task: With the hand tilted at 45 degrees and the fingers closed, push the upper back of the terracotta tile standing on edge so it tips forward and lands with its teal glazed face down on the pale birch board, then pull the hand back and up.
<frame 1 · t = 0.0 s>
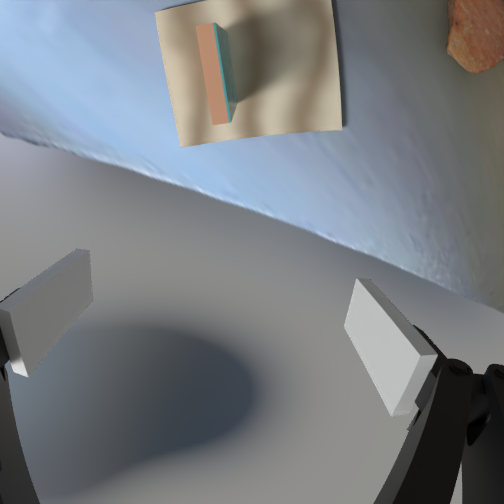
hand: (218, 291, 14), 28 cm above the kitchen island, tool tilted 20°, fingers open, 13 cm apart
board: (251, 64, 32), on the kitchen island
ceramic shard: (463, 19, 25), on the kitchen island
tile: (220, 70, 27), point 6 cm above the kitchen island, touching board
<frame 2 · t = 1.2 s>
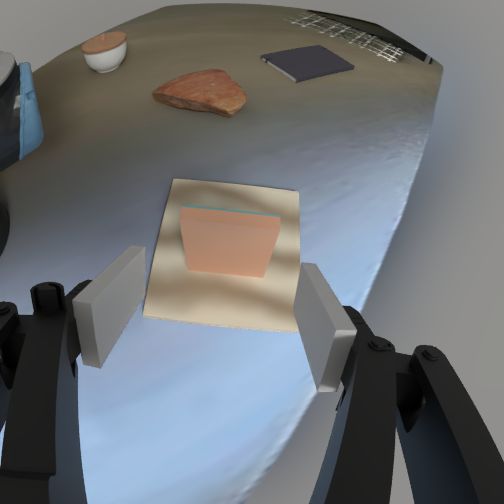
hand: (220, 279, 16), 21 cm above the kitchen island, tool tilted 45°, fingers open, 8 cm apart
board: (228, 249, 40), on the kitchen island
ceramic shard: (203, 104, 54), on the kitchen island
lidded jar: (108, 67, 59), on the kitchen island
tile: (228, 246, 33), point 6 cm above the kitchen island, touching board
notebook: (308, 65, 67), on the kitchen island
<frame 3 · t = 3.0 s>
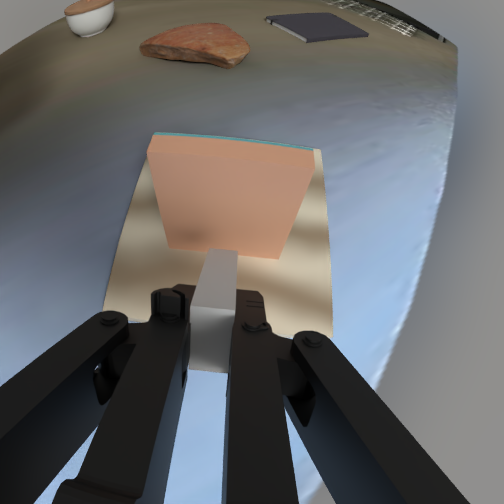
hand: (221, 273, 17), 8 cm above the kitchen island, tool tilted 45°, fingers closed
board: (227, 221, 28), on the kitchen island
ceramic shard: (198, 58, 43), on the kitchen island
lidded jar: (93, 32, 47), on the kitchen island
tile: (227, 206, 21), point 6 cm above the kitchen island, touching board
notebook: (318, 29, 55), on the kitchen island
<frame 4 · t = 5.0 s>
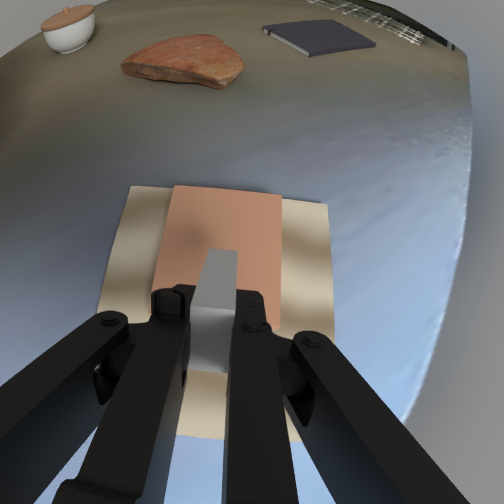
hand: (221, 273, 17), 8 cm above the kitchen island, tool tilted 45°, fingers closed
board: (215, 305, 24), on the kitchen island
ceramic shard: (185, 76, 39), on the kitchen island
lidded jar: (73, 47, 43), on the kitchen island
tile: (220, 252, 24), point 2 cm above the kitchen island, tilted 90°, touching board
notebook: (321, 39, 50), on the kitchen island
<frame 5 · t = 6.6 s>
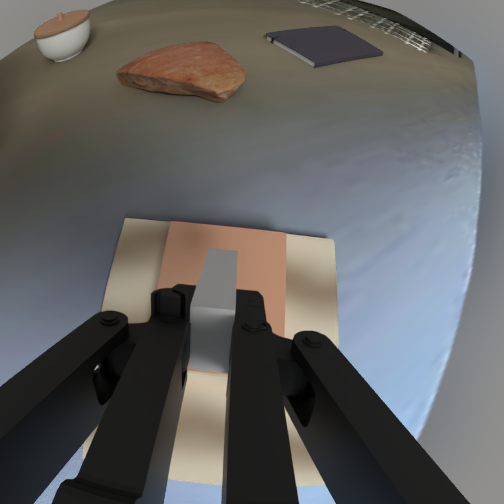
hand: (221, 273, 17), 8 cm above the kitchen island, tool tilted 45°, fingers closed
board: (216, 351, 22), on the kitchen island
ceramic shard: (184, 87, 37), on the kitchen island
lidded jar: (68, 55, 42), on the kitchen island
tile: (220, 298, 22), point 2 cm above the kitchen island, tilted 90°, touching board
notebook: (326, 47, 49), on the kitchen island
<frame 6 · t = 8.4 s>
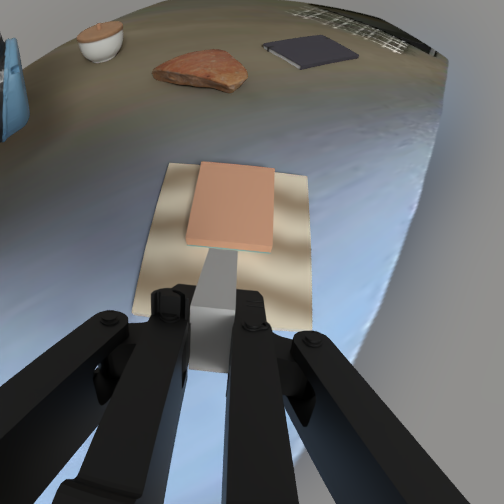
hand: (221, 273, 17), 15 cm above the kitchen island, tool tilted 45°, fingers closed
board: (229, 239, 35), on the kitchen island
ceramic shard: (203, 82, 51), on the kitchen island
lidded jar: (104, 57, 56), on the kitchen island
tile: (233, 203, 36), point 2 cm above the kitchen island, tilted 90°, touching board
notebook: (311, 53, 63), on the kitchen island
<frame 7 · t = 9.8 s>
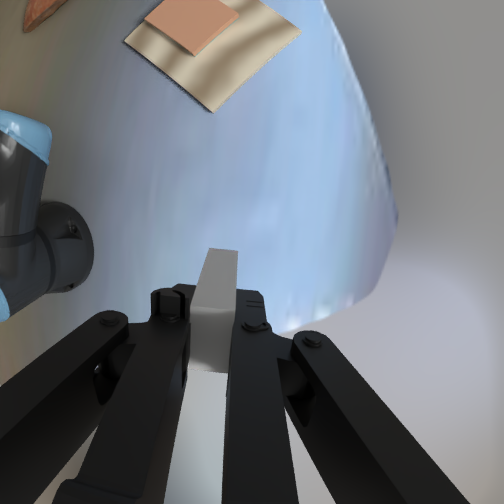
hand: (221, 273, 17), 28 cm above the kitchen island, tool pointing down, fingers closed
board: (209, 32, 37), on the kitchen island
tile: (190, 16, 35), point 2 cm above the kitchen island, tilted 90°, touching board
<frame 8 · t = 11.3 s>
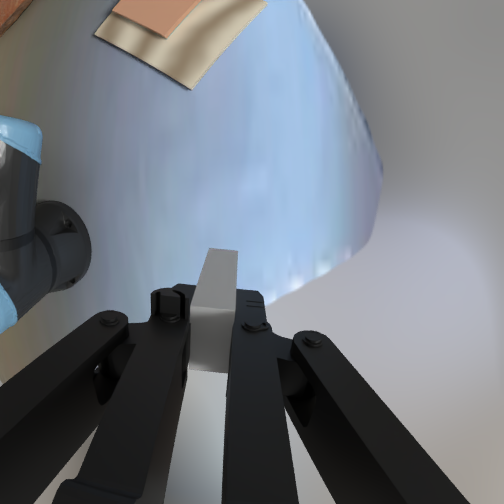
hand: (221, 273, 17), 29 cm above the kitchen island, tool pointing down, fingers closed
board: (177, 15, 36), on the kitchen island
ceramic shard: (24, 1, 31), on the kitchen island
tile: (157, 2, 33), point 2 cm above the kitchen island, tilted 90°, touching board
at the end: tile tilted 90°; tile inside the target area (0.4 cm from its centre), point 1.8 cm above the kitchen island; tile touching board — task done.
